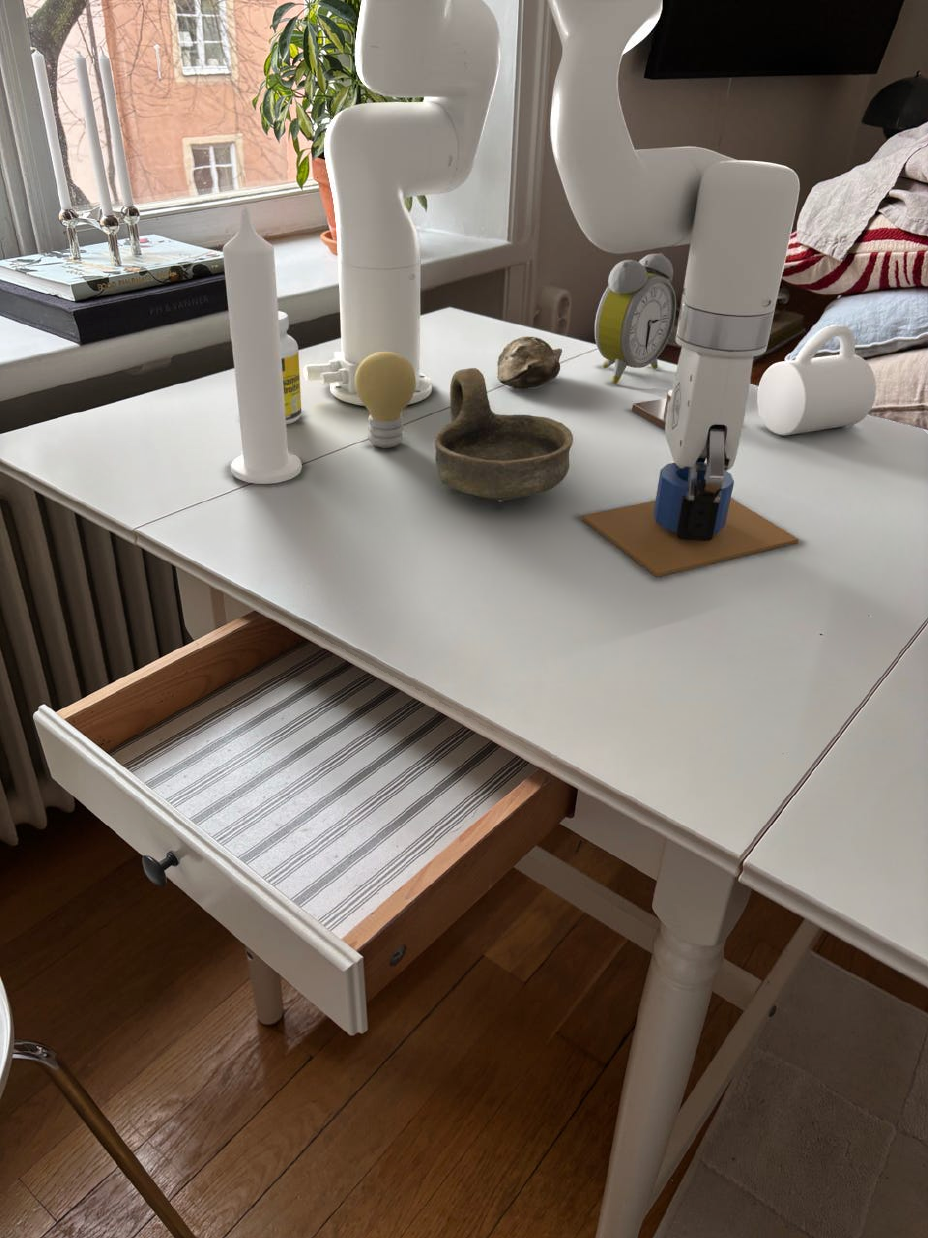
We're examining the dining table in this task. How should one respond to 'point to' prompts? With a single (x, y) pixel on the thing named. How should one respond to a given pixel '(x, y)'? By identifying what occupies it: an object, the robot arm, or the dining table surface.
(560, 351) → the fossilized seashell
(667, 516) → the blue hollow cylinder
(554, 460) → the bowl
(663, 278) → the alarm clock
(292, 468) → the candle
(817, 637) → the dining table surface
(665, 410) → the dowel stand
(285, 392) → the pill bottle
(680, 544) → the mat
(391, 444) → the light bulb
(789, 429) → the mug
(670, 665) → the dining table surface
